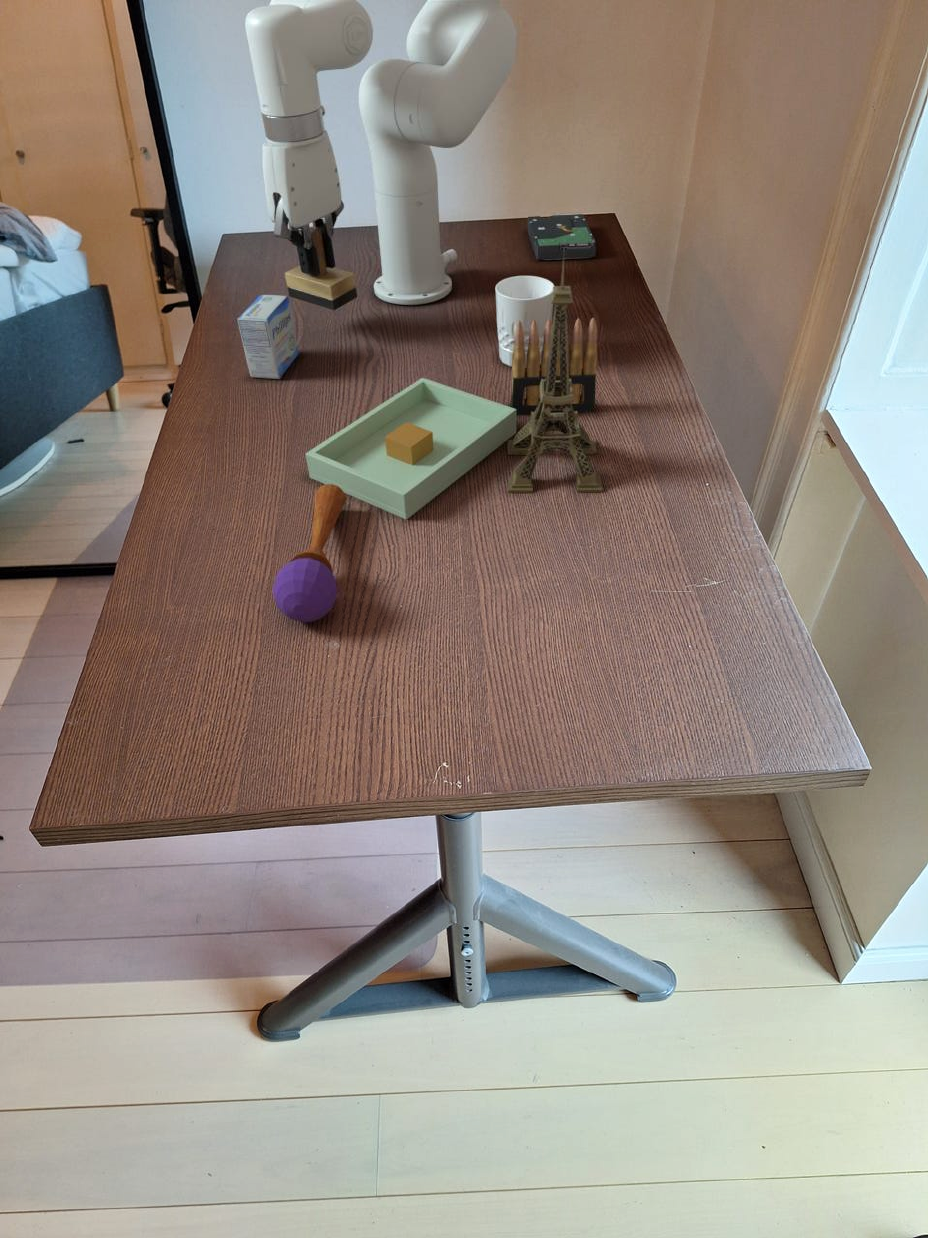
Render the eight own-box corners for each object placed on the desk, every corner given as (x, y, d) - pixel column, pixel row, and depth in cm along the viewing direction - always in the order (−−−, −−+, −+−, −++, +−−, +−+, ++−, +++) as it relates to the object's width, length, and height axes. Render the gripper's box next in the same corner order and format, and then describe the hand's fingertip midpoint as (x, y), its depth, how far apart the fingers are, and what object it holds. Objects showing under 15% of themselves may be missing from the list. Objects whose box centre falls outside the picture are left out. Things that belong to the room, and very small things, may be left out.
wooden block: (407, 440, 103) (406, 421, 101) (433, 450, 101) (432, 431, 100) (386, 455, 101) (384, 436, 99) (412, 465, 99) (411, 447, 97)
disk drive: (525, 232, 156) (536, 261, 145) (526, 216, 154) (537, 244, 143) (581, 229, 156) (596, 258, 145) (582, 212, 154) (598, 241, 143)
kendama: (360, 477, 92) (334, 588, 76) (355, 523, 96) (330, 638, 80) (304, 469, 91) (268, 579, 76) (302, 515, 95) (266, 630, 79)
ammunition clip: (592, 404, 110) (600, 313, 101) (594, 411, 108) (602, 320, 100) (509, 407, 110) (510, 317, 101) (511, 415, 108) (511, 324, 100)
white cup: (559, 350, 121) (563, 280, 114) (539, 375, 116) (542, 302, 109) (508, 341, 123) (509, 271, 117) (486, 364, 118) (485, 293, 111)
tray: (423, 400, 112) (422, 377, 109) (516, 432, 105) (516, 408, 103) (309, 477, 99) (305, 453, 97) (406, 519, 93) (404, 494, 91)
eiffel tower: (507, 442, 104) (509, 228, 86) (594, 441, 103) (613, 226, 86) (508, 492, 96) (510, 269, 79) (602, 492, 95) (624, 267, 78)
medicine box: (279, 380, 117) (267, 319, 111) (249, 378, 118) (236, 317, 112) (299, 354, 122) (289, 294, 116) (270, 352, 123) (259, 293, 117)
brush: (312, 283, 127) (300, 217, 120) (357, 297, 123) (348, 229, 116) (289, 296, 124) (275, 229, 118) (334, 310, 120) (323, 241, 114)
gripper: (316, 105, 114) (337, 245, 127) (226, 138, 105) (259, 285, 118) (358, 112, 111) (375, 255, 124) (269, 147, 102) (298, 297, 115)
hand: (318, 268), depth 121 cm, fingers closed on brush, 2 cm apart
